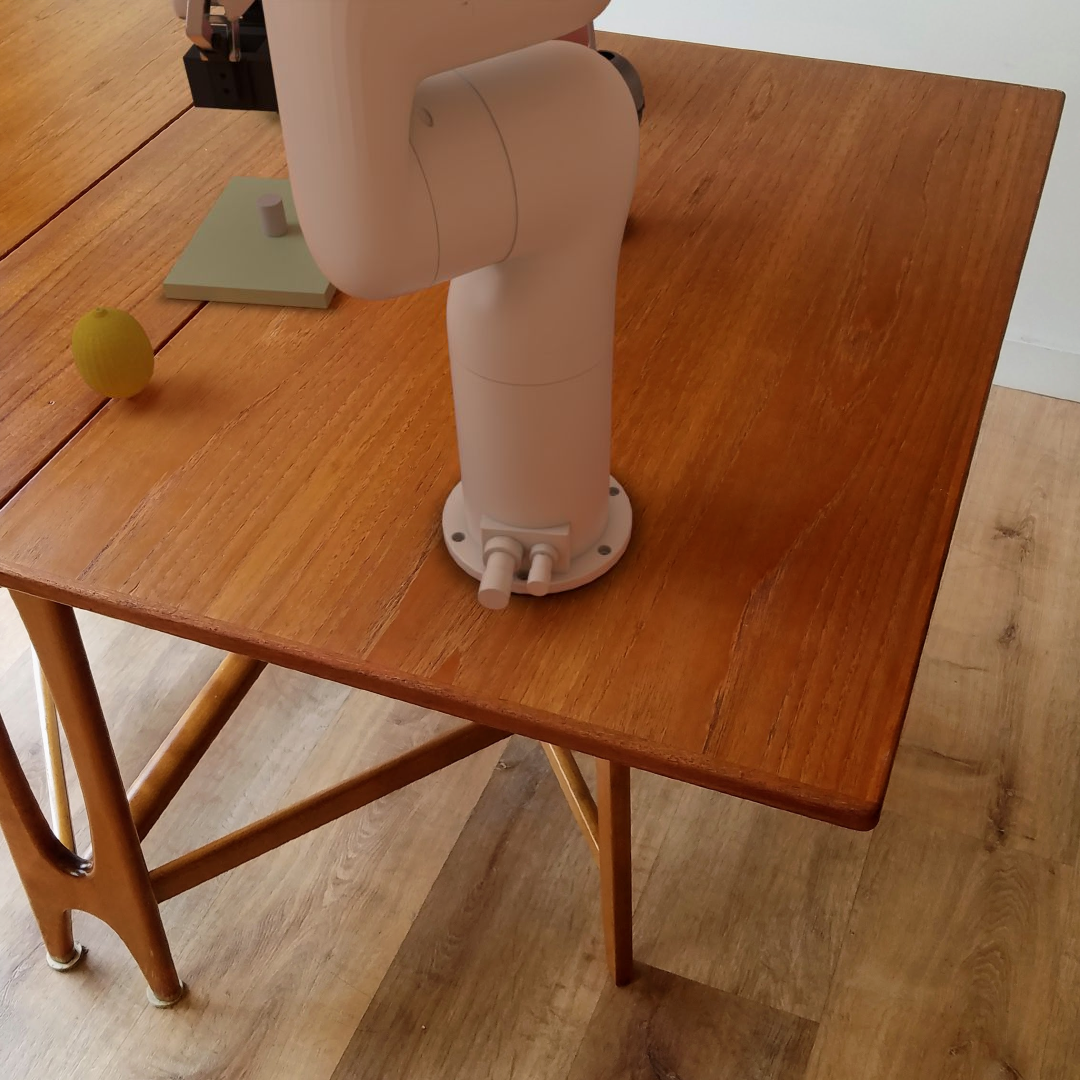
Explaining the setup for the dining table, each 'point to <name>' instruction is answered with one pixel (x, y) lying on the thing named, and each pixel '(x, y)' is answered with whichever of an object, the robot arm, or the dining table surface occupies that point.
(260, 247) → the base pad
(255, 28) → the black hollow block
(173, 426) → the dining table surface
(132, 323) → the lemon
